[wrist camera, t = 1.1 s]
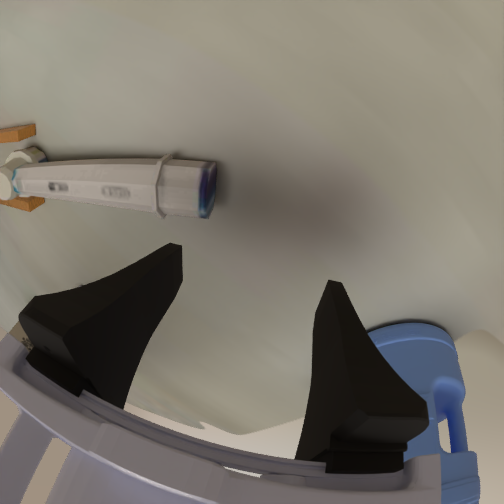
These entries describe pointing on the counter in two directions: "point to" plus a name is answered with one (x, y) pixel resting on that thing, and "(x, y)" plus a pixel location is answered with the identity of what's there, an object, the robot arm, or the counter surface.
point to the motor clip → (15, 136)
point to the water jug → (434, 401)
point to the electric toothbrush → (114, 182)
